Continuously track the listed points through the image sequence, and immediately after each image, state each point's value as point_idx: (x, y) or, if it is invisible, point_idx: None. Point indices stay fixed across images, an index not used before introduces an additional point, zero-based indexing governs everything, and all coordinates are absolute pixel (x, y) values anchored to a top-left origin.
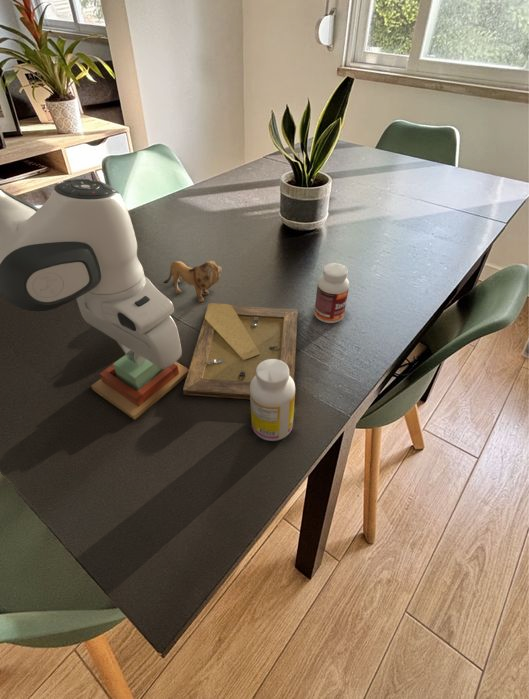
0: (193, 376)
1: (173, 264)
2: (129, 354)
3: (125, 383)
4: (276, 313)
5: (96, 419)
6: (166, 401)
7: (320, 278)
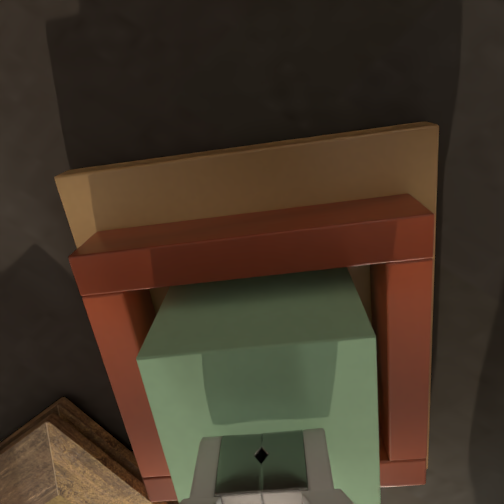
0: (91, 483)
1: None
2: (272, 494)
3: (280, 274)
4: None
5: (207, 13)
6: (84, 330)
7: None
